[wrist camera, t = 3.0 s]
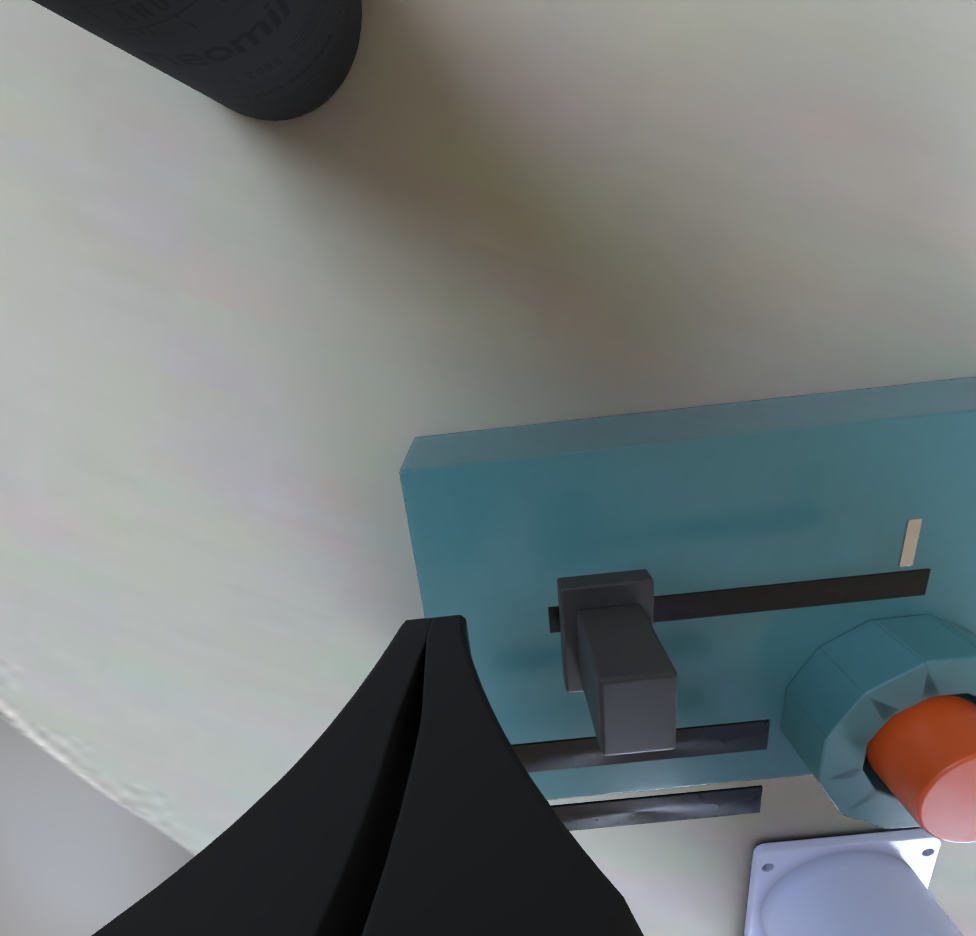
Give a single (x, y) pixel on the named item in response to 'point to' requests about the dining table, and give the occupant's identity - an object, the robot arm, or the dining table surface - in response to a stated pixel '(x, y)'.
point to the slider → (618, 660)
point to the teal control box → (718, 570)
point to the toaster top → (717, 735)
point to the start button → (932, 764)
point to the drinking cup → (234, 46)
